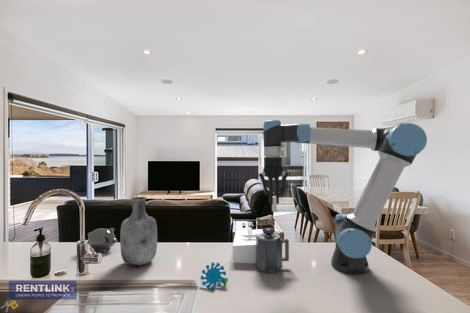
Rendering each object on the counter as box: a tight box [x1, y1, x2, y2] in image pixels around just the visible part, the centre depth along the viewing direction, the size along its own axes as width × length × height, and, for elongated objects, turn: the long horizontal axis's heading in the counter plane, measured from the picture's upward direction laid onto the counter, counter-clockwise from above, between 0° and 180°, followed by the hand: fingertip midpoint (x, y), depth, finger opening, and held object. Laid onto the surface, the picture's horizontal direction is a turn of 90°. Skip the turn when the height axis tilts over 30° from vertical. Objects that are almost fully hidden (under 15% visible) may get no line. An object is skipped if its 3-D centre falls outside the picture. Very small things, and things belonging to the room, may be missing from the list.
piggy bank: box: [87, 227, 118, 254], centre depth 139 cm, size 11×15×12 cm
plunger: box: [263, 227, 275, 237], centre depth 116 cm, size 8×8×14 cm
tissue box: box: [232, 226, 264, 264], centre depth 133 cm, size 14×25×11 cm, turn 177°
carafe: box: [255, 232, 290, 275], centre depth 116 cm, size 14×11×14 cm
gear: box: [200, 262, 229, 290], centre depth 103 cm, size 11×6×10 cm
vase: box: [119, 196, 158, 266], centre depth 123 cm, size 16×16×30 cm
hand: (274, 211), depth 115 cm, fingers closed
